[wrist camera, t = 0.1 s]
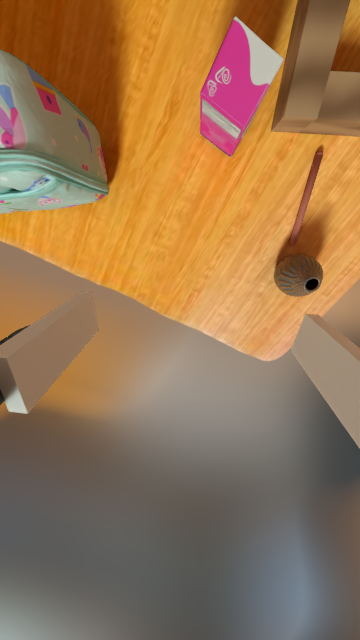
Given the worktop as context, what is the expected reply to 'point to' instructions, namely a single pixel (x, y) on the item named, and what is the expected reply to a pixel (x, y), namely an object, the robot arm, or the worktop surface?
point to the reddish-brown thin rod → (306, 196)
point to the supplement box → (236, 86)
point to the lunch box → (44, 145)
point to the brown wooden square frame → (317, 75)
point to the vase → (298, 275)
